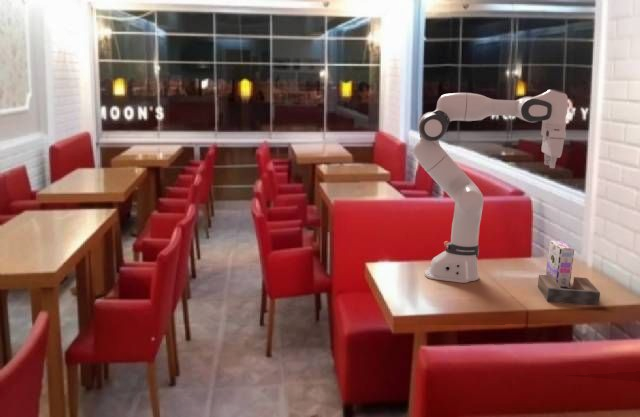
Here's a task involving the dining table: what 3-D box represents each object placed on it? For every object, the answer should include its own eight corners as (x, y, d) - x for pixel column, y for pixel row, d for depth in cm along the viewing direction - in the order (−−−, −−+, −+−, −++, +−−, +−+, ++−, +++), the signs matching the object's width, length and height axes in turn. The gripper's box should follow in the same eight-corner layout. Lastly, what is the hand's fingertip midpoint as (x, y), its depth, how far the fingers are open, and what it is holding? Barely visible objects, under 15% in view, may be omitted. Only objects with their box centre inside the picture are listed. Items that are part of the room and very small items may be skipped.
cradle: (547, 301, 255) (548, 288, 254) (537, 286, 273) (538, 274, 272) (598, 305, 253) (600, 292, 252) (585, 289, 271) (586, 278, 270)
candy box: (570, 288, 273) (574, 248, 269) (555, 287, 273) (560, 248, 269) (558, 278, 286) (563, 240, 283) (544, 277, 286) (549, 239, 283)
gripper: (539, 129, 278) (536, 162, 280) (550, 133, 258) (546, 169, 260) (555, 129, 277) (551, 163, 280) (567, 134, 257) (563, 170, 260)
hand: (549, 166), depth 270 cm, fingers open, 8 cm apart
